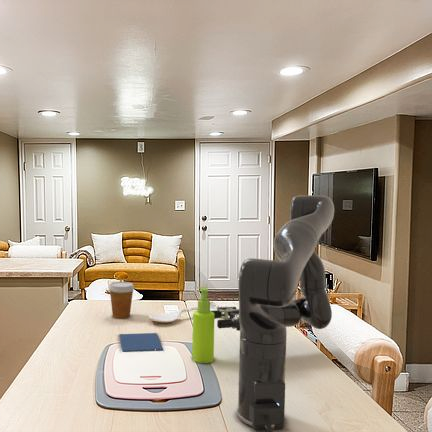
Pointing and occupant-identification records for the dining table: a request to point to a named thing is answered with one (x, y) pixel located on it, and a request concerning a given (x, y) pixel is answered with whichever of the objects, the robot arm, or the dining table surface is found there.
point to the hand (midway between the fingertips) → (211, 319)
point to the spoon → (176, 314)
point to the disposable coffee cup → (121, 298)
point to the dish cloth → (140, 342)
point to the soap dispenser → (203, 330)
